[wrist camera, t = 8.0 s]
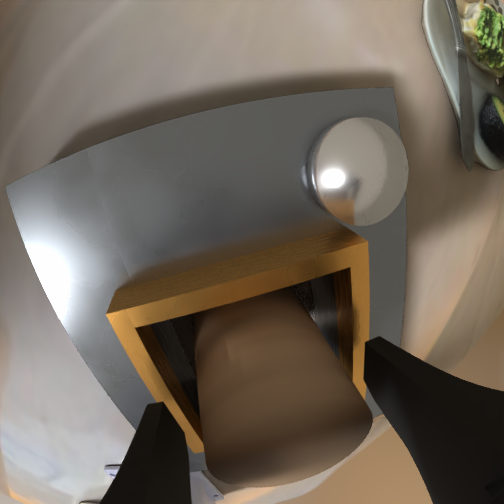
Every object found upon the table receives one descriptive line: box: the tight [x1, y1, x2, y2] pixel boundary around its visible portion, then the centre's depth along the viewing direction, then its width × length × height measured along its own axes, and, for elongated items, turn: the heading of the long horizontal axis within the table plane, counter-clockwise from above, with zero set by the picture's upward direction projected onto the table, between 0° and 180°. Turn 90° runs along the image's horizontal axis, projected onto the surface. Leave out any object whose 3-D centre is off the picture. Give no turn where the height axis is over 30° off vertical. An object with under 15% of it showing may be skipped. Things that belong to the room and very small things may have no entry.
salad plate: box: [422, 0, 504, 171], centre depth 10 cm, size 15×14×4 cm
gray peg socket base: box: [5, 87, 409, 473], centre depth 12 cm, size 18×14×4 cm
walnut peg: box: [192, 286, 373, 487], centre depth 11 cm, size 5×5×8 cm
